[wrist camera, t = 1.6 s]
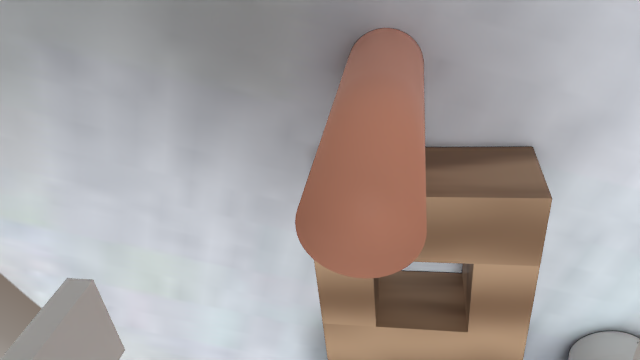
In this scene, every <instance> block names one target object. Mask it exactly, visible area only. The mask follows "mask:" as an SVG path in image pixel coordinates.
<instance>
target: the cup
mask: <svg viewBox="0 0 640 360" xmlns="http://www.w3.org/2000/svg"><path fill="white" fill-rule="evenodd" d="M639 340H640V339H639V338H637V337H635V336H633V335H631V334H628V333H624V332H618V331H604V332H598V333H593V334H590V335H588V336H585V337H583V338H581V339H580V340H578V341H577V342H576V343H575V344H574V345H573V346H572V347H571V349H570V352H569V358H568V360H632V359H633V356H634V354H635V351H636V348H637V345H638V342H639Z"/></svg>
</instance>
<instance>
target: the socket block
mask: <svg viewBox="0 0 640 360" xmlns="http://www.w3.org/2000/svg"><path fill="white" fill-rule="evenodd" d="M425 164H426V219H427V234H426V241H425V244H424V247H423V249H422V251H421V253H420V254H419V255H418V257H417V258H416V259H415V260H414V261H413V262H438V263H463V266H462V273H442V272H417V271H399V272H396V273H394V274H391V275H388V276H384V277H379V278H354V277H349V276H345V275H341V274H338V273H336V272H333V271H331V270H329V269H327V268H325V267H324V266H322V265H321V264H319V263H318V262H316V261H315V260H314V263H315V270H316V277H317V285H318V292H319V299H320V306H321V314H322V321H323V328H324V335H325V343H326V350H327V357H328V360H523V356H524V350H525V345H526V339H527V334H528V328H529V323H530V317H531V312H532V307H533V301H534V296H535V290H536V285H537V279H538V274H539V268H540V263H541V257H542V252H543V246H544V241H545V235H546V230H547V224H548V219H549V213H550V208H551V202H552V197H551V194H550V191H549V189H548V186H547V183H546V181H545V178H544V175H543V173H542V170H541V168H540V165H539V162H538V160H537V157H536V154H535V152H534V149H533V147H425Z"/></svg>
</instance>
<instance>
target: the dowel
mask: <svg viewBox="0 0 640 360" xmlns="http://www.w3.org/2000/svg"><path fill="white" fill-rule="evenodd" d="M295 225H296V232H297V236H298V238H299V241H300V243H301V244H302V246H303V248H304V249H305V250H306V252H307V253H308V254H309V255H310V256H311V257H312V258H313V259H314V260H315V261H316V262H318V263H319V264H321V265H322V266H324V267H325V268H327V269H329V270H331V271H333V272H336V273H338V274H341V275H345V276H349V277H354V278H379V277H384V276H388V275H391V274H394V273H396V272H399V271H401V270H402V269H404V268H406V267H407V266H409V265H410V264H411V263H412V262H413V261H414V260H415V259H416V258H417V257H418V255H419V254H420V253H421V251H422V249H423V247H424V244H425V241H426V234H427V219H426V164H425V110H424V61H423V55H422V52H421V49H420V47H419V46H418V44H417V43H416V41H415V40H414V39H413V38H412V37H410V36H409V35H408V34H406V33H404V32H402V31H400V30H397V29H392V28H380V29H376V30H373V31H370V32H368V33H366V34H365V35H363V36H362V37H361V38H360V39H359V40H358V41H357V42H356V43H355V44H354V46H353V48H352V49H351V52H350V54H349V57H348V60H347V63H346V66H345V69H344V72H343V75H342V78H341V81H340V84H339V87H338V90H337V93H336V96H335V99H334V102H333V105H332V108H331V111H330V114H329V117H328V120H327V123H326V126H325V129H324V132H323V135H322V138H321V141H320V144H319V147H318V150H317V153H316V156H315V159H314V162H313V164H312V167H311V170H310V173H309V176H308V179H307V182H306V185H305V188H304V191H303V194H302V197H301V200H300V203H299V206H298V209H297V213H296V220H295Z"/></svg>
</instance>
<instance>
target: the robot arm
mask: <svg viewBox="0 0 640 360" xmlns="http://www.w3.org/2000/svg"><path fill="white" fill-rule="evenodd" d="M124 351H125V349H124V346H123V344H122V342H121V340H120V338H119V335H118V333H117V331H116V329H115V327H114V324H113V322H112V320H111V318H110V316H109V313H108V311H107V309H106V307H105V305H104V302H103V300H102V298H101V296H100V294H99V291H98V289H97V287H96V285H95V283H94V280H92V279H72V278H67V279H66V280H65V281H64V283H63V284H62V285H61V286H60V287H59V289H58V290H57V291H56V292H55V293H54V295H53V296H52V297H51V298H50V299H49V301H48V302H47V303H46V304H45V306H44V307H43V308H42V309H41V310H40V312H39V313H38V314H37V315H36V316H35V318H34V319H33V320H32V321H31V323H30V324H29V325H28V326H27V327H26V328H25V330H24V331H23V332H22V334H21V335H20V336H19V337H18V338H17V339H16V341H15V342H14V343H13V344H12V346H11V347H10V348H9V349H8V350H7V351H6V353H5V354H4V355H3V356H2V358H1V359H0V360H119V359H120V357H121V356H122V354H123V352H124ZM632 360H640V340H639V342H638V345H637V348H636V351H635V354H634V356H633V359H632Z"/></svg>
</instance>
